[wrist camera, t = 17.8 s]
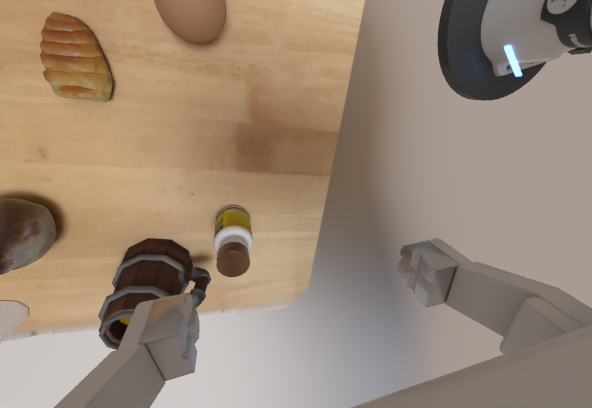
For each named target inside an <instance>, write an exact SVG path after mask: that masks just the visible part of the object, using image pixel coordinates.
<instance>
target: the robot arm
mask: <svg viewBox="0 0 592 408" xmlns="http://www.w3.org/2000/svg"><path fill="white" fill-rule="evenodd" d="M481 44H482V48H483V51H484V53H485V55H486V56H487V57H488V59H489V60H490V61H491V63H492V67H493V72H494V75H495V76H503V75H506V74H510V73H513V72H514V74H515V76H522V73H521V70H522V69H525V68H528V67H531V66H535V65H538V64H541V63H544V62H547V61H550V60H553V59H556V58H559V57H560V56H561V55H562V54H563V53H565V52H568V53H570V54H572V55H573V54H583V53H590V52H591V50H592V0H488V2H487V5H486V8H485V11H484V14H483V18H482V23H481ZM400 255H401V256H402V259H401V260H400V262H399V263H398V273H399V276H400V278H401V280H402V281H403V283H404V284H405V285H406V286H408V287H410V288H412V289H413V291H414V295H415V296H416V297H417V298H418V299H419V301H420V302H421V303H422V304H423V305H424V306H425V307H430V306H434V305H438V304H442V303H446V305H448V306H450V307H452V308H453V309H455V310H457V311H459V312H461V313H463V314H464V315H466V316H468V317H469V318H471V319H473V320H475V321H477V322H479V323H480V324H482V325H484V326H485V327H487V328H489V329H491V330H493V331H494V332H496V333H498V334H500V335H501V336H503V337H504V339H503V341H502V342H501V345H500V351H501V352H502V353H503V354H504V355H501V356H498V357H495V358H493V359H490V360H487V361H484V362H481V363H478V364H475V365H472V366H470V367H467V368H464V369H461V370H458V371H455V372H452V373H450V374H447V375H444V376H441V377H438V378H435V379H432V380H429V381H427V382H424V383H421V384H418V385H415V386H412V387H409V388H406V389H403V390H400V391H398V392H395V393H392V394H389V395H386V396H383V397H380V398H377V399H375V400H372V401H369V402H366V403H363V404H360V405H357V406H354V407H352V408H592V309H591V308H590V307H588V306H587V305H585V304H583V303H582V302H580V301H578V300H577V299H575V298H574V297H572V296H570V295H569V294H567V293H565V292H564V291H562V290H560V289H559V288H556V287H553V286H550V285H547V284H544V283H541V282H538V281H535V280H532V279H528V278H525V277H522V276H519V275H516V274H513V273H510V272H507V271H504V270H500V269H498V268H494V267H491V266H488V265H485V264H482V263H479V262H472V261H470V260H469V259H467V258H466V257H465V256H463V255H462V254H460V253H459V252H458V251H456V250H455V249H453V248H452V247H451V246H449V245H448V244H446V243H445V242H444V241H442V240H441V239H437V238H435V239H431V240H427V241H424V242H419V243H414V244H410V245H406V246H403V247H402V248H401V252H400ZM192 304H193V299H192V297H191V294H190V293H184V294H179V295H174V296H169V297H163V298H158V299H155V300H150V301H144V302H140V303H139V304H138V305H137V306H136V308H135V310H134V313H133V315H132V318H131V320H130V322H129V325H128V327H127V329H126V332H125V334H124V336H123V339H122V341H121V343H120V346H119V348H118V350H116V351H113V352H111V353H110V354H109V355H108V356H107V357H106V358H105V359H104V360H103V361H102V362H101V363H100V364H99V365H98V366H97V367H96V368H95V369H94V370H93V371H91V372H90V373H89V374H88V375H87V376H86V377H85V378H84V379H83V380H82V381H81V382H80V383H79V384H78V385H77V386H76V387H75V388H74V389H73V390H72V391H71V392H70V393H69V394H68V395H67V396H66V397H64V398H63V399H62V400H61V401H60V402H59V403H58V404H57V405H56V406H55V407H54V408H150V406H151V405H152V403H153V401H154V400H155V398H156V397H157V395H158V393H159V392H160V391H161V389H162V387H163V386H164V384H165V381H167V380H171V379H174V378H177V377H180V376H183V375H187V374H190V373H193V372H194V371H195V364H196V356H197V350H196V347H195V345H194V344H195V343H196V341H197V340H198V338H199V318H198V313H197V310H196V309H194V308H192Z"/></svg>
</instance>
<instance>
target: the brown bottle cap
mask: <svg viewBox="0 0 592 408" xmlns="http://www.w3.org/2000/svg"><path fill="white" fill-rule="evenodd" d="M249 265H250V259H249V251H248V249H247V247H246V246H245V245H244V244H242V243H239V242H229V243H226V244H224V245H223V246H222V247H221V248H220V249H219V250H218V253H217V269H218V271H219V272H220V273H221V274H222V275H224V276H227V277H236V276H240V275H242V274H243V273H245V272H246V271H247V270H248V268H249Z"/></svg>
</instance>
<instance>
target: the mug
mask: <svg viewBox="0 0 592 408" xmlns="http://www.w3.org/2000/svg"><path fill="white" fill-rule="evenodd" d="M192 268H193V264H192V261H191V258H190V255H189V252H188V251H187V250H186V249H184V248H183V247H181V246H179V245H178V244H176V243H175V242H173V241H171V240H156V239H147V240H145V241H143V242H141V243H139V244H137V245H135V246H132V247H130V248H129V249H128V251H127V252H126V254H125V256H124V259H123V261H122V263H121V264H120V266H119V268H118V270H117V272H116V275H115V277H114V279H113V282H112V284H113V286H114V287H115V290H114V293H113V294H111V295H109V296H107V297H106V299H105V301H104V304H103V306H102V308H101V310H100V313H99V315H98V317H99V318H100V320H101V321H102V323H101V326H100V329H99V332H100V334H99V336H100V338H101V339H102V340H103V342H104V343H105V345H106V346H107V347H109V348H112V349H116V350H118V348H119V346H120V343H121V341H122V339H123V336H124V334H125V332H126V329H127V327H128V325H129V322H130V320H131V318H132V315H133V313H134V310H135V308H136V306H137V305H138V304H139V303H140V302H144V301H150V300H155V299H158V298H163V297H169V296H174V295H179V294H183V293H184V291H185V289H186V287H187V286H188V284H189V281H191V280H192V281H193V282H196V284H195V286H194V289H192V290H191V292H190V294H191V297H192V299H193V304H192V308H194V309H195V308H197V307H198V306H199V305H200V304H201V303H202V301H203V300H204V299H205V297H206V295H205V291H206V288H207V284H209V283H210V281H211V278H210V275H209V272H208V271H207V270H205V269H202V268H199V267H194V268H193V269H192Z"/></svg>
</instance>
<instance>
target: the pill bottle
mask: <svg viewBox="0 0 592 408" xmlns="http://www.w3.org/2000/svg"><path fill="white" fill-rule="evenodd" d="M229 242H239V243H242V244H244V245H245V246H246V247H247V249H248V251H250V249H251V247H252V244H253V238H252V232H251V225H250V218H249V215H248V213H247V212H246V211H245V210H244V209H243V208H241V207H238V206H228V207H225V208H224V209H222V210H221V211H220V212H219V213H218V215H217V218H216V225H215V235H214V247H215V250H216V252H217V253H218V250H219V249H220V248H221V247H222V246H223V245H224V244H226V243H229Z"/></svg>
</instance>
